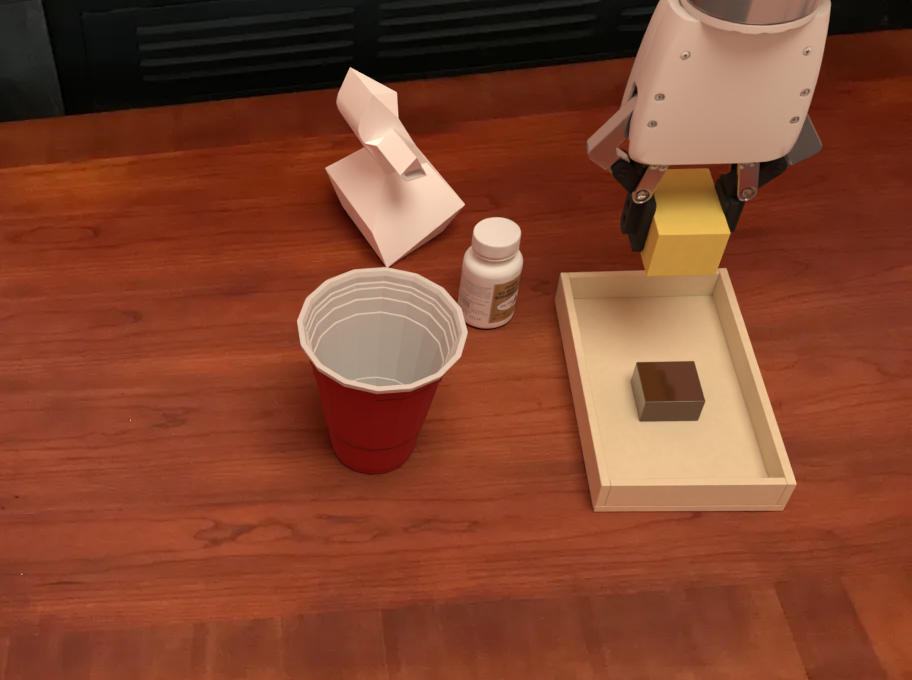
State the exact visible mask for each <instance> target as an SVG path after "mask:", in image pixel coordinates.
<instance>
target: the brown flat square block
mask: <svg viewBox="0 0 912 680" xmlns="http://www.w3.org/2000/svg"><path fill="white" fill-rule="evenodd" d="M631 386H632V390H633V395H634V399H635V403H636V408H637V412H638V416H639V421H640V422H648V421H698V420H699V417H700V415H701V412H702V409H703V407H704V404H705V398H704V394H703V391H702V387H701V384H700V380H699V376H698V373H697V369H696V366H695V362H694V361H667V362H636V365H635V368H634V372H633V375H632V378H631Z"/></svg>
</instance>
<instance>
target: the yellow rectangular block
mask: <svg viewBox="0 0 912 680" xmlns="http://www.w3.org/2000/svg"><path fill="white" fill-rule="evenodd" d="M714 186H715V183H714V180H713V177H712V174H711V171H710V168H708V167H706V168H705V167H704V168H701V167H700V168H668V169H667V171H666V172H665V174H664V176H663V178H662V179H661V181H660V183H659V184H658V186H657V188H656V190H655V192H654V197H655V200H656V204H657V207H656V212H655V215H654V216H653V219H652V222H651V226H650V229H649V232H648V236H647V239H646V243H645V246H644V249H643V250H642V251H641V252H639V253H640V258H641V261H642V264H643V269H644V270H645V273H646V276H702V275H716V272H717V269H719V267H720V263H721V262H722V261H721V260H722V258H723V255H724V253H725V250H726V247H727V245H728V241H729V239H730V237H731V233H732V232H730V230H729V227H728V224H727V221H726V218H725V215H724V213H723V210H722V207H721V205H720V202H719V199H718V196H717V193H716V190H715V187H714Z"/></svg>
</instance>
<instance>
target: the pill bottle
mask: <svg viewBox="0 0 912 680" xmlns="http://www.w3.org/2000/svg"><path fill="white" fill-rule="evenodd" d="M521 238H522V231H521V227H520V225H518V224H517V223H516V222H515V221H513V220H511V219H509V218H505V217H499V216H494V217H493V216H491V217H487V218H484V219H482V220H480V221H479V222H477V224H475V226H474V227H473V231H472V237H471V245H470V246H469V247H468V248H467V250H466V251H465V253H464V255H463V258H462V265H461V272H460V273H461V275H460V281H459V288H458V296H457V297H458V298H457V304H458V305H459V306H460V307H461V309H462V312H463V316H464V320H465V324H468V325H469V326H471V327H475V328H479V329H495V328H499V327H502V326H504V325H506V324H507V323H508V322H510V321H511V320H512V318H513V316H514V314H515V309H516V303H517V298H518V294H519V288H520V283H521V277H522V271H523V265H524V257H523V254H522V252H521V250H520V245H521Z"/></svg>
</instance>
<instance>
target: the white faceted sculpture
mask: <svg viewBox="0 0 912 680" xmlns="http://www.w3.org/2000/svg"><path fill="white" fill-rule="evenodd" d="M335 104H336V107H337V110H338V111H339V113H340V114H341V116H342V117H343V119H344V120H345V122H346V123H347V124H348V126H349V128H350V129H351V130H352V131H353V133H354V134H355V136H356V137H357V139H358V140H359V142H360V144H361V145H362V148H360V149H358V150H356V151H355V152H352V153H351V154H349V155H347V156H345V157H342V158H340V159H339V160H338V161H336V162H333V163H332V164H330V165H328V166H326V167H324V169H325V172H326V174H327V176H328V179H329V180H330V182H331V185H332V187H333V189H334V191H335V193H336V196H337V198H338V200H339V202H340V205H341V206H342V209H344V210H345V212H346V213H347V215H348V216H349V218H350V219H351V221H352V222H353V223H354V224H355V226H356V227H357V229H358V230H359V231H360V233H361V234H362V235H363V237H364V239H365V240H366V241H367V243H368V245H370V246H371V248H372V249H373V251H374V252H375V254H376V255H377V256H378V257H379V259H380V261H381V262H382V263H383V265H384V267H387V268H390V267H391V266H393V265H394V264H396V263H397V262H399V261H400V260H401V259H403V258H405V257H406V256H408V255H409V254H411V253H412V252H414V251H415V250H417V249H418V248H421V247H422V246H424V245H425V244H426V243H428V242H429V241H431V240H432V239H434V238H436V237H437V236H439V235H440V234H442V233H443V232H444V231H445V230H446V228H448V226H449V225H450V224H451V223H452V221H453V220H454V219H455V217H456V216H457V215H458V214H459V213H460V212H461V211H462V210H463V208H464V207H465V206H466V204H465V202H464V201H463V199H461V197H460V196H459V195H458V194H457V193H456V192H455V190H454V189H453V188H452V187H451V186H450V184H449V183H448V182H447V181H446V180H445V178H444V177H443V176H442V175H441V174H440V172H439V171H438V170H437V169H436V168H435V167H434V165H433V164H432V163H431V162H430V161H429V159H428V158H427V157H426V156H425V154H424V153H423V152H422V151H421V150H420V149H419V147H418V146H417V145H416V143H415V142H414V140H413V138H412V137H411V135H410V134H409V132H408V131H407V129H406V127H405V126H404V125H403V123H402V122H401V119H400V117H399V104H398V92H397V91H395V90H393V89H391V88H389V87H387V86H386V85H384V84H382V83H380V82H378V81H376V80H375V79H373V78H371V77H369V76H367V75H365V74H364V73H361V72H359V71H358V70H356V69H355V68H352V67H351V66H350V67H349V69H348V70H347V73H346V75H345V77H344V80H343V82H342V83H341V86H340V88H339V91H338V93H337V96H336V102H335Z"/></svg>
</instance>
